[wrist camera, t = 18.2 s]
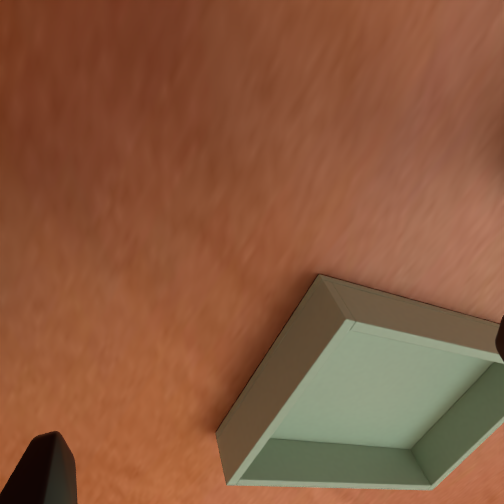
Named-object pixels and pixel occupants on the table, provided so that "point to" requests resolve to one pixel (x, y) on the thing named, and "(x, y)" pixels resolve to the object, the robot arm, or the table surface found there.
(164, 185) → the table surface
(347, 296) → the box
